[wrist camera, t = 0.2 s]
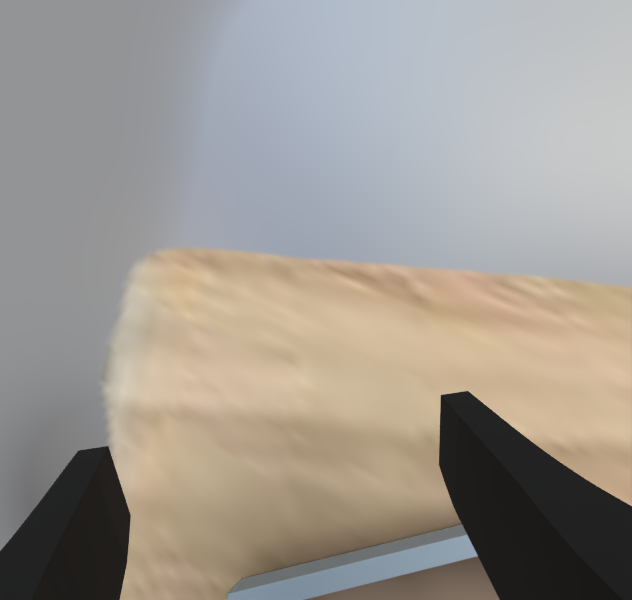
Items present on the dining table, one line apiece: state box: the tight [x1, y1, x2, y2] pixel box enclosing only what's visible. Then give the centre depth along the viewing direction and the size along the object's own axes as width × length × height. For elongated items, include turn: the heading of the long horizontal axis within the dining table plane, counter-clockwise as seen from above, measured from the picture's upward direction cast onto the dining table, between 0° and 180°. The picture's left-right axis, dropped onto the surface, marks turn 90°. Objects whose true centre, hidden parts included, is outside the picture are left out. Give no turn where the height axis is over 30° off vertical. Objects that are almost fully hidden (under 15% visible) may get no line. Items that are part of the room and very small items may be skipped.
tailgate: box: [227, 524, 478, 600], centre depth 36 cm, size 1×19×6 cm, turn 103°
